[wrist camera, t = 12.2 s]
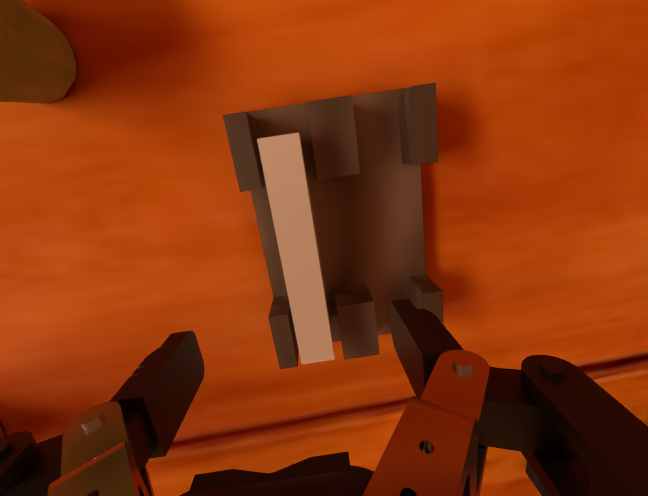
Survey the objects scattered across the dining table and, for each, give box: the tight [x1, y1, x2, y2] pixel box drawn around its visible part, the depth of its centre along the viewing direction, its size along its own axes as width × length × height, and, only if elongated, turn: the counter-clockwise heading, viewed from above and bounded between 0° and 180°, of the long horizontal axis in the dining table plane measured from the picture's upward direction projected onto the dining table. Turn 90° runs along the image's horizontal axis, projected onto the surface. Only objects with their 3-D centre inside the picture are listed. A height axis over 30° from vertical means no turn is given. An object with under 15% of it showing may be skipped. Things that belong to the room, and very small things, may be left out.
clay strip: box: [257, 133, 335, 364], centre depth 23 cm, size 2×16×6 cm, turn 8°
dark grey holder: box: [223, 83, 443, 369], centre depth 25 cm, size 14×21×5 cm, turn 8°
